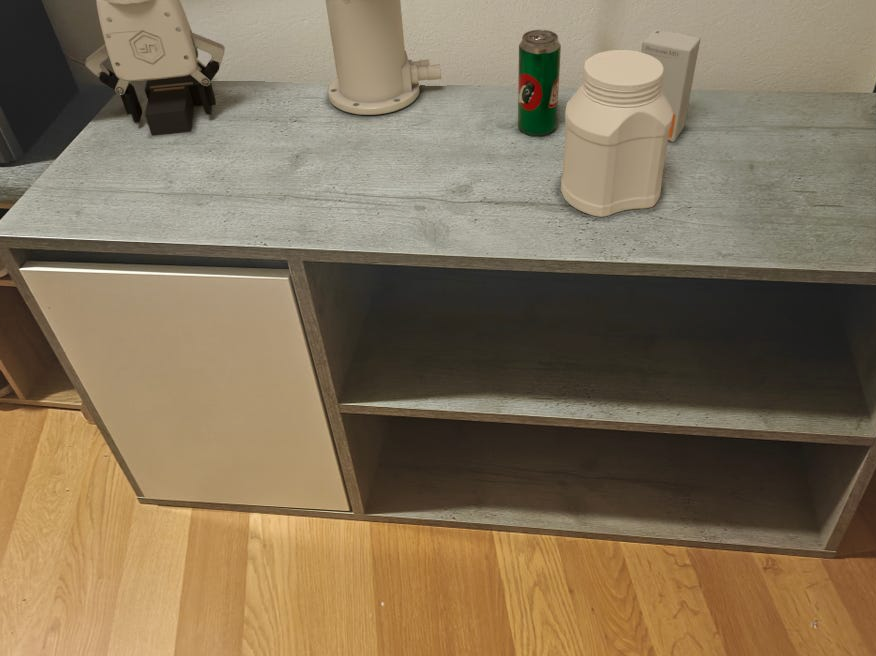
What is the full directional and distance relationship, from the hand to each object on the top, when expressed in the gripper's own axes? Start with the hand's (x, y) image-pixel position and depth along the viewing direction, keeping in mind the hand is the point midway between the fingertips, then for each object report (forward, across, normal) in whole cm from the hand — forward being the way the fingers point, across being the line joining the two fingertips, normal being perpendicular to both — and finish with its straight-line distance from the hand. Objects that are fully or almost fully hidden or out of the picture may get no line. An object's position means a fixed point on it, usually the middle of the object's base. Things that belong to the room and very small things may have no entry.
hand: (174, 113), depth 108 cm
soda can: (+1, +47, -13) cm, 49 cm away
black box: (+1, 0, 0) cm, 1 cm away
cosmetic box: (+1, +62, -17) cm, 64 cm away
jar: (+1, +52, -29) cm, 59 cm away
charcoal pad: (+1, 0, +6) cm, 6 cm away
